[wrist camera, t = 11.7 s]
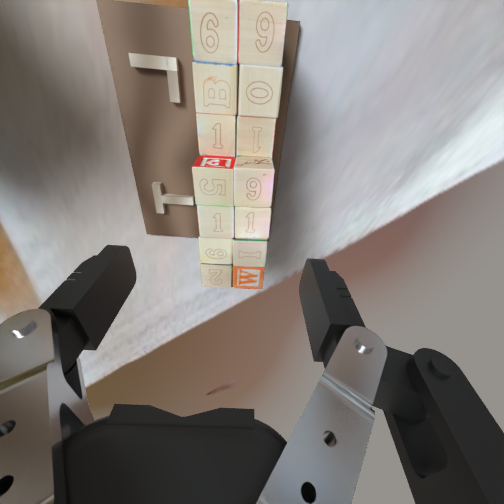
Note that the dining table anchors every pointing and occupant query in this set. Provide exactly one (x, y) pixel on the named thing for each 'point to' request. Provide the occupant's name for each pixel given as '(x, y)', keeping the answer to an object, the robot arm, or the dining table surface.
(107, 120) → the dining table surface
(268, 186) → the stack of blocks
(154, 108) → the board
